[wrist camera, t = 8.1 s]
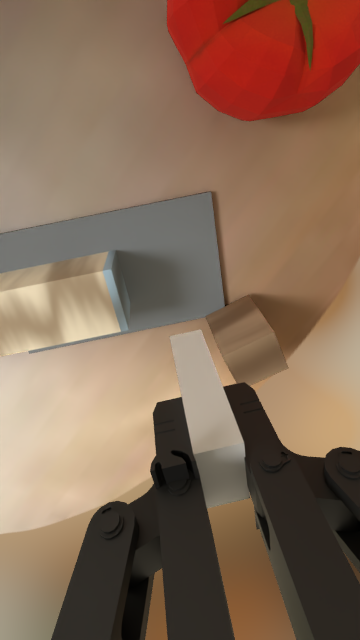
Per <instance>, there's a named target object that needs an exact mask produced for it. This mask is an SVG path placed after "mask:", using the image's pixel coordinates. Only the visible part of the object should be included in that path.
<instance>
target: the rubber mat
mask: <svg viewBox="0 0 360 640" xmlns="http://www.w3.org/2000/svg"><path fill="white" fill-rule="evenodd" d="M113 250H116V253H117V256H118V260H119V263H120V267H121V271H122V274H123V278H124V282H125V285H126V289H127V293H128V296H129V300H130V318H129V330H127V331H122V332H117V333H112V334H108V335H103V336H98V337H93V338H88V339H83V340H79V341H74V342H69V343H64V344H59V345H54V346H50V347H45V348H40V349H35V350H30V351H29V354H30V353H35V352H40V351H45V350H50V349H54V348H59V347H64V346H69V345H74V344H79V343H83V342H88V341H93V340H98V339H103V338H107V337H112V336H117V335H122V334H127V333H132V332H136V331H141V330H146V329H151V328H156V327H161V326H165V325H170V324H175V323H180V322H185V321H190V320H194V319H199V318H204V317H206V316H207V315H209V314H211V313H213V312H215V311H217V310H219V309H221V308H223V307H225V304H224V295H223V287H222V279H221V270H220V262H219V254H218V245H217V237H216V229H215V220H214V212H213V204H212V195H211V192H205V193H200V194H195V195H190V196H185V197H180V198H175V199H170V200H165V201H160V202H155V203H150V204H145V205H140V206H135V207H130V208H125V209H120V210H115V211H110V212H105V213H100V214H95V215H90V216H86V217H81V218H76V219H71V220H66V221H61V222H56V223H51V224H46V225H41V226H36V227H31V228H26V229H21V230H16V231H11V232H6V233H1V234H0V273H5V272H9V271H14V270H19V269H24V268H29V267H34V266H39V265H44V264H49V263H54V262H59V261H64V260H69V259H73V258H78V257H83V256H88V255H93V254H98V253H103V252H108V251H113Z"/></svg>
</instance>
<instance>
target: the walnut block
mask: <svg viewBox="0 0 360 640" xmlns="http://www.w3.org/2000/svg"><path fill="white" fill-rule="evenodd" d="M206 319H207V321H208V324H209V326H210V328H211V331H212V333H213V336H214V338H215V341H216V343H217V345H218V348H219V350H220V353H221V355H222V357H223V359H224V361H225V363H226V364H227V366H228V368H229V370H230V372H231V373H232V375H233V377H234V379H235V381H236V383H237V384H238V383H242V382H245V383H246V384H248V385H249V386H250V385H253V384H255V383H257V382H259V381H261V380H264V379H266V378H268V377H270V376H272V375H275V374H277V373H279V372H281V371H283V370H286V369H288V366H287V363H286V360H285V358H284V355H283V353H282V350H281V348H280V345H279V343H278V340H277V337H276V335H275V332H274V331H273V329H272V328H271V326H270V325H269V323H268V322H267V321H266V319H265V318H264V316H263V315H262V313H261V312H260V310H259V309H258V307H257V306H256V305H255V303H254V302H253V300H252V299H251V297H250V296H249V295H247V296H245V297H243V298H241V299H239V300H237V301H235V302H233V303H231V304H229V305H227V306H225V307H223V308H221V309H219V310H217V311H215V312H213V313H211V314H209V315H207V316H206Z"/></svg>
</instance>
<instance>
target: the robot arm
mask: <svg viewBox="0 0 360 640" xmlns="http://www.w3.org/2000/svg"><path fill="white" fill-rule="evenodd" d="M170 341H171V346H172V351H173V356H174V361H175V366H176V371H177V376H178V381H179V386H180V391H181V396H182V397H180V398H175V399H171V400H166V401H162V402H157V405H156V407H155V409H154V412H153V420H154V433H155V445H156V456H155V458H154V460H153V462H152V463H151V469H150V472H151V475H152V478H153V481H154V484H153V486H152V487H151V489H150V490H149V491H148V492H147V493H146V494H144V495H143V496H142V497H140V498H138V499H137V500H135V501H133V502H131V503H130V504H127V503H125V502H120V501H115V502H109V503H107V504H106V505H104V506H102V507H101V508H100V509H99V510H98V511H97V512H96V513H95V514H94V515H93V517H92V519H91V521H90V523H89V525H88V528H87V531H86V534H85V538H84V540H83V543H82V547H81V550H80V553H79V556H78V559H77V562H76V565H75V568H74V571H73V574H72V577H71V580H70V583H69V586H68V590H67V593H66V596H65V599H64V602H63V605H62V608H61V611H60V614H59V617H58V620H57V624H56V627H55V629H54V633H53V636H52V639H51V640H145V636H146V629H147V622H148V615H149V607H150V600H151V594H152V587H153V580H154V573H155V572H157V571H158V570H160V569H161V568H162V570H163V583H164V596H165V609H166V622H167V635H168V640H235V637H234V633H233V628H232V623H231V619H230V615H229V609H228V604H227V600H226V595H225V591H224V586H223V581H222V576H221V572H220V567H219V563H218V558H217V553H216V548H215V544H214V539H213V534H212V529H211V525H210V520H209V516H208V511H207V508H210V507H215V506H219V505H223V504H227V503H231V502H235V501H240V500H244V499H248V498H250V495H251V498H252V501H253V504H254V509H255V518H256V527H257V529H260V531H261V534H262V537H263V540H264V543H265V546H266V549H267V552H268V555H269V558H270V561H271V564H272V567H273V570H274V573H275V576H276V579H277V582H278V585H279V588H280V591H281V594H282V597H283V600H284V603H285V607H286V610H287V613H288V616H289V618H290V621H291V624H292V628H293V630H294V634H295V636H296V640H360V584H359V582H358V580H357V578H356V576H355V574H354V572H353V570H352V568H351V566H350V564H349V563H348V560H347V558H346V557H345V555H344V553H345V554H346V556H347V557H348V558H349V559H350V561H351V562H352V563H353V565H354V566H355V567H356V568H357V570H358V571H359V572H360V451H357V450H355V449H352V448H346V447H339V448H335V449H332V450H331V451H330V452H329V453H327V455H326V457H325V458H320V457H307V456H301V455H298V454H295V453H293V452H291V451H290V450H288V449H287V448H286V447H285V446H283V444H282V443H281V441H280V440H279V438H278V436H277V434H276V432H275V430H274V428H273V426H272V424H271V422H270V420H269V418H268V416H267V414H266V413H265V410H264V409H263V407H262V404H261V402H260V401H259V399H258V396H257V395H256V392H255V390H254V389H253V388H251V387H250V386H249V385H248V384H246V383H245V382H242V383H238V384H233V385H229V386H225V387H223V386H222V383H221V381H220V378H219V375H218V373H217V370H216V368H215V365H214V362H213V360H212V357H211V354H210V352H209V349H208V347H207V344H206V341H205V339H204V336H203V333H202V331H201V329H200V330H196V331H191V332H186V333H182V334H177V335H173V336H170ZM249 492H250V493H249ZM342 550H343V551H342ZM343 552H344V553H343Z"/></svg>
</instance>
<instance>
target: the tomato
mask: <svg viewBox="0 0 360 640" xmlns="http://www.w3.org/2000/svg"><path fill="white" fill-rule="evenodd" d="M167 27H168V32H169V34H170V35H171V37H172V39H173V41H174V43H175V45H176V47H177V49H178V51H179V53H180V55H181V56H182V58H183V60H184V62H185V64H186V66H187V69H188V72H189V75H190V77H191V80H192V83H193V85H194V88H195V91H196V93H197V94H199V95H200V96H201V97H202V98H203V99H205V100H206V101H207V102H208V103H209V104H211V105H212V106H213V107H214V108H215V109H217V110H218V111H220V112H222V113H225V114H227V115H230V116H232V117H235V118H237V119H240V120H244V121H254V120H260V119H266V118H272V117H278V116H283V115H288V114H293V113H299V112H303V111H305V110H307V109H309V108H311V107H313V106H315V105H316V104H318V103H319V102H320V101H322V100H323V99H324V98H326V97H327V96H328V95H329V94H331V93H332V92H333V91H335V90H336V89H337V88H339V87H340V86H341V85H343V83H344V82H345V81H346V80H347V78H348V77H349V76H350V75H351V74H352V72H353V71H354V70H355V69H356V67H357V66H358V65H359V64H360V0H167Z"/></svg>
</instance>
